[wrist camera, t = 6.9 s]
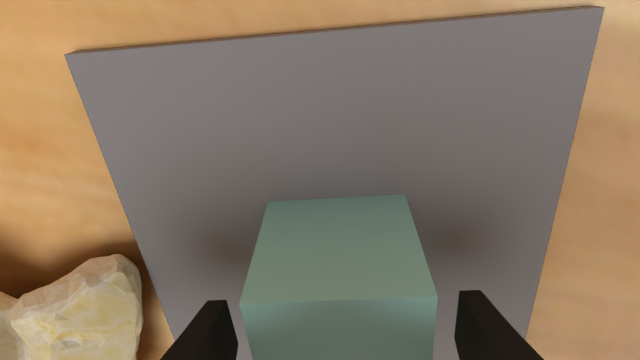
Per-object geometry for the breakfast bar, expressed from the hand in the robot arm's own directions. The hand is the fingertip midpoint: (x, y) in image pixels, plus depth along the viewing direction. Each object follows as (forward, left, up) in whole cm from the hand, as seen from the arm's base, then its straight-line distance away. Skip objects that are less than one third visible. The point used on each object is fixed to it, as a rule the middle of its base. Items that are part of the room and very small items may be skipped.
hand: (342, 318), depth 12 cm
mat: (0, 0, -4) cm, 4 cm away
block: (0, 0, -4) cm, 4 cm away
